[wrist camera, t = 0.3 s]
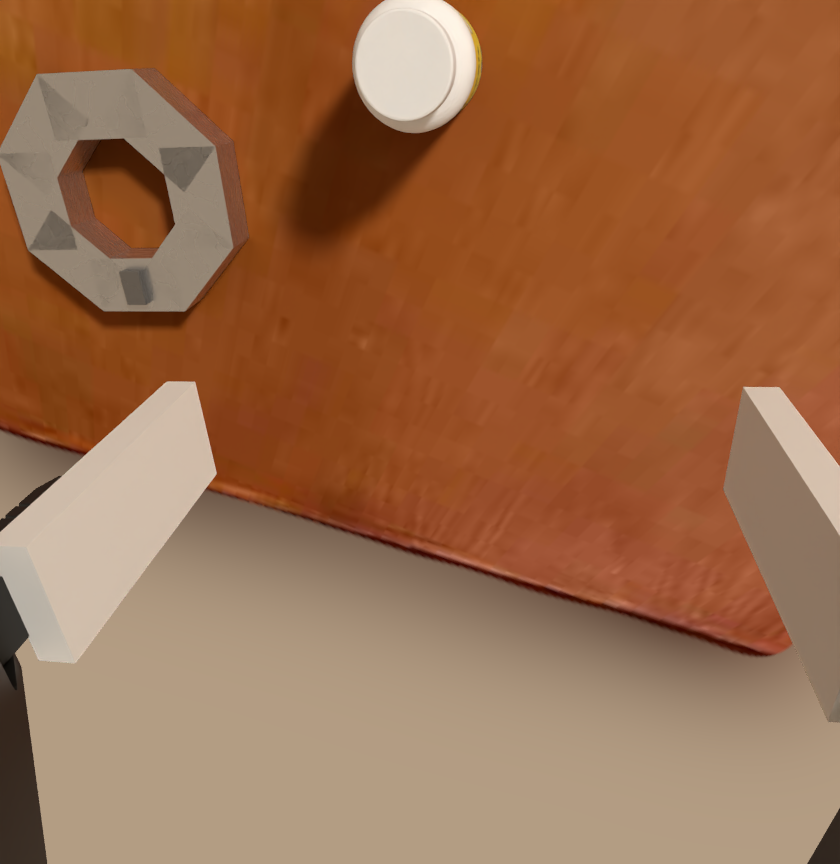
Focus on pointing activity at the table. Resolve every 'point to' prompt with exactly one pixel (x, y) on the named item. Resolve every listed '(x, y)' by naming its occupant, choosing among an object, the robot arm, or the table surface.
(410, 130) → the supplement bottle
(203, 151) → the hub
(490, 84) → the table surface
